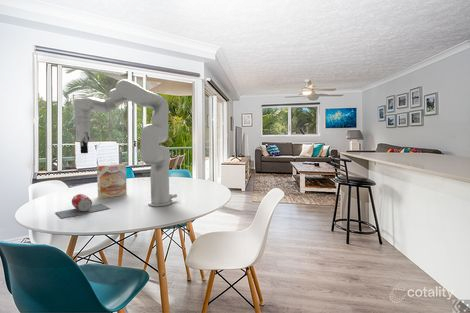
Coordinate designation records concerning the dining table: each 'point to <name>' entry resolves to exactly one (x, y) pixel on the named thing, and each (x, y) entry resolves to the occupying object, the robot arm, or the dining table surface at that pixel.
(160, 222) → the dining table surface
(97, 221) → the dining table surface
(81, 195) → the soda can
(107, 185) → the coffeecake box
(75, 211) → the mat
